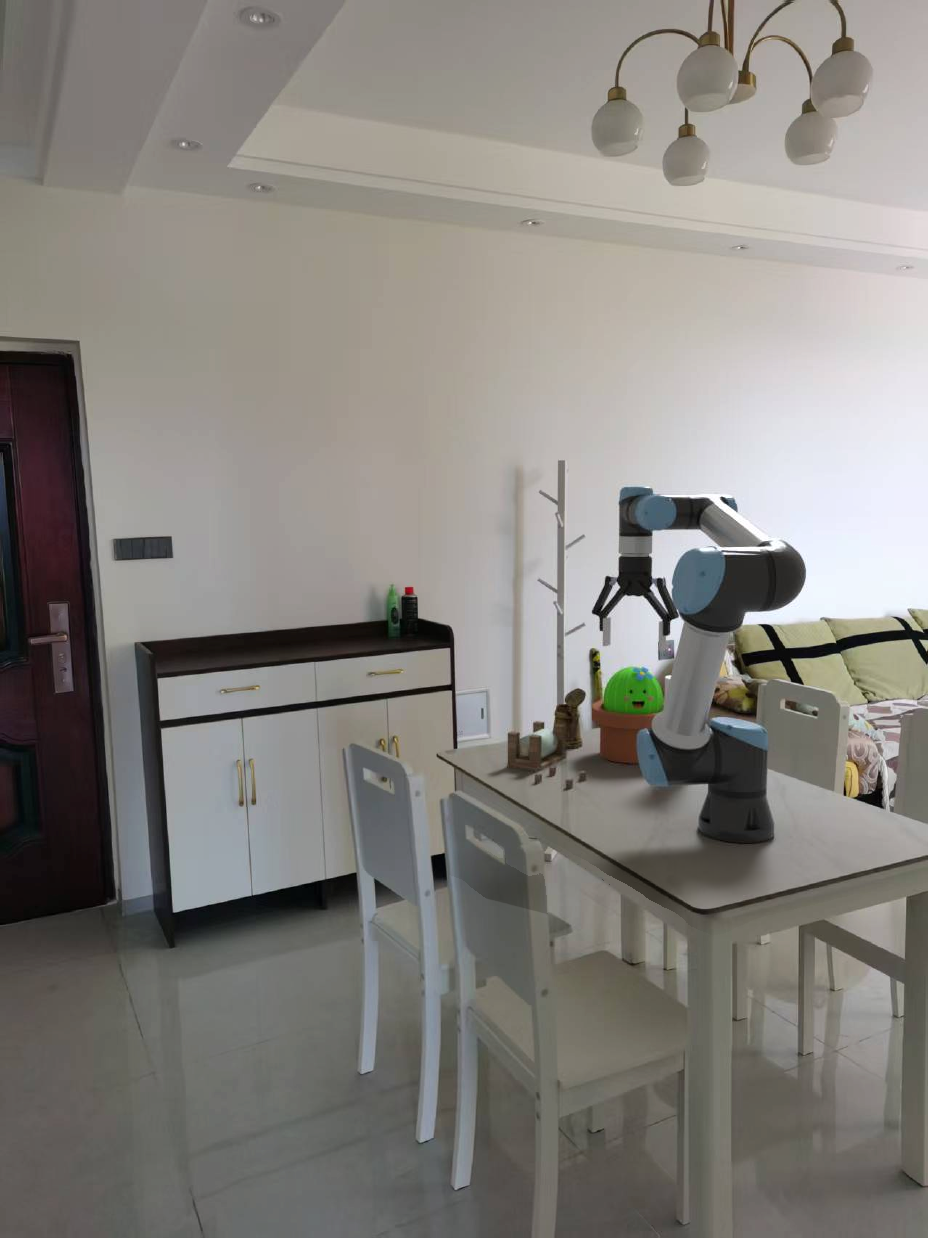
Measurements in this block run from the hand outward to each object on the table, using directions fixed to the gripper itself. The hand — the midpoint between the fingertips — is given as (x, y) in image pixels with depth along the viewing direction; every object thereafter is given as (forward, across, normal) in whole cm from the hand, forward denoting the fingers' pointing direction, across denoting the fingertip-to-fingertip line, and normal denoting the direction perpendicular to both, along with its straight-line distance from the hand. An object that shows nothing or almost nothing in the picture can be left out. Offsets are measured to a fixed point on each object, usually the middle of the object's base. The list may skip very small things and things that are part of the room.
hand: (633, 647), depth 214 cm
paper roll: (+34, +32, -13) cm, 48 cm away
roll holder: (+35, +32, -13) cm, 49 cm away
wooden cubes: (+35, +19, -1) cm, 40 cm away
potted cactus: (+35, +13, -32) cm, 49 cm away
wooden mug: (+35, +32, -32) cm, 57 cm away
